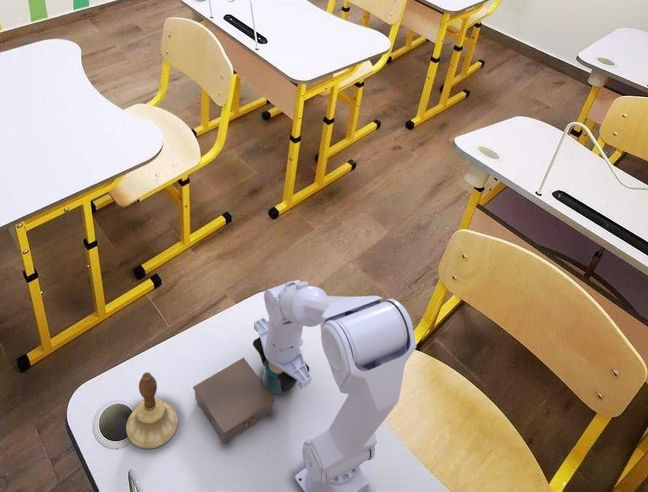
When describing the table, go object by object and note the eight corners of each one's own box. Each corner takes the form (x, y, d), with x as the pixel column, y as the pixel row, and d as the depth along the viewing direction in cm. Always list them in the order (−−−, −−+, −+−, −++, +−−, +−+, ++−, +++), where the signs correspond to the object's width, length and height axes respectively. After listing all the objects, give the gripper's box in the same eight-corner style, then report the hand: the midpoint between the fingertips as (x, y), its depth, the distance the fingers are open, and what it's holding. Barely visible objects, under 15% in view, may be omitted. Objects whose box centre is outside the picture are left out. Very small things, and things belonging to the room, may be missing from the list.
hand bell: (172, 395, 102) (167, 345, 91) (183, 439, 97) (179, 391, 86) (122, 410, 99) (110, 360, 88) (130, 456, 93) (119, 409, 83)
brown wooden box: (274, 415, 102) (276, 401, 99) (224, 448, 97) (224, 434, 93) (242, 371, 107) (243, 357, 104) (193, 400, 102) (192, 386, 98)
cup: (305, 378, 108) (308, 361, 104) (273, 399, 105) (276, 382, 100) (288, 357, 111) (291, 340, 107) (257, 376, 107) (258, 359, 103)
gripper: (329, 354, 96) (319, 394, 105) (279, 294, 103) (273, 337, 112) (294, 376, 92) (287, 416, 101) (245, 312, 99) (242, 355, 108)
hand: (278, 376), depth 106 cm, fingers closed on cup, 5 cm apart
